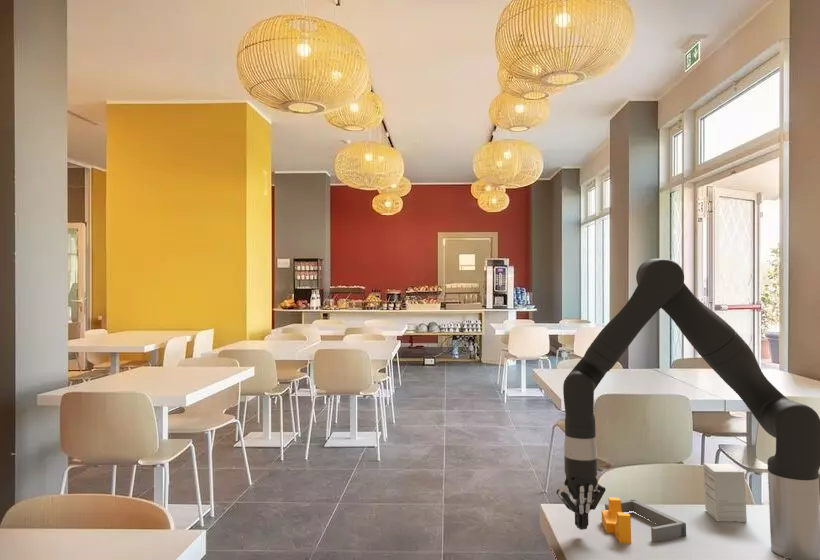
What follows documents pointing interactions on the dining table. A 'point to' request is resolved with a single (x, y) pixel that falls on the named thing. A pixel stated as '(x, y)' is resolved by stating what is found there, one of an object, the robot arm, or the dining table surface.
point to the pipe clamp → (617, 521)
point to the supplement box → (725, 492)
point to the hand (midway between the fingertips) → (581, 528)
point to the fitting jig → (656, 521)
